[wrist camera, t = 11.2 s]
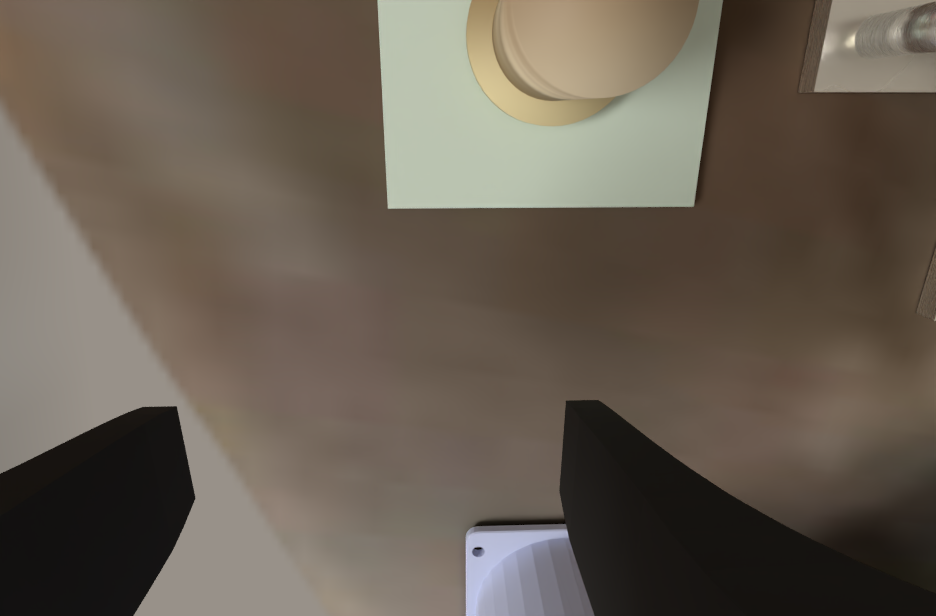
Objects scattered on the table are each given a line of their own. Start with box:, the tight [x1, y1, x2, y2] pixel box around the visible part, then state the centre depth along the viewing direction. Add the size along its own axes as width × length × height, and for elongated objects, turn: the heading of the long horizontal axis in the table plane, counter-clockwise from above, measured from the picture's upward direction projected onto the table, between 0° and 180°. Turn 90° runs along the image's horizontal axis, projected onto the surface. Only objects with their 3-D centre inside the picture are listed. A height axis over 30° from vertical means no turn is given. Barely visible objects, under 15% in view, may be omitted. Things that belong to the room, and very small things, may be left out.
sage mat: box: [378, 0, 723, 208], centre depth 16 cm, size 10×10×1 cm
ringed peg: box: [466, 0, 699, 126], centre depth 13 cm, size 5×5×6 cm
